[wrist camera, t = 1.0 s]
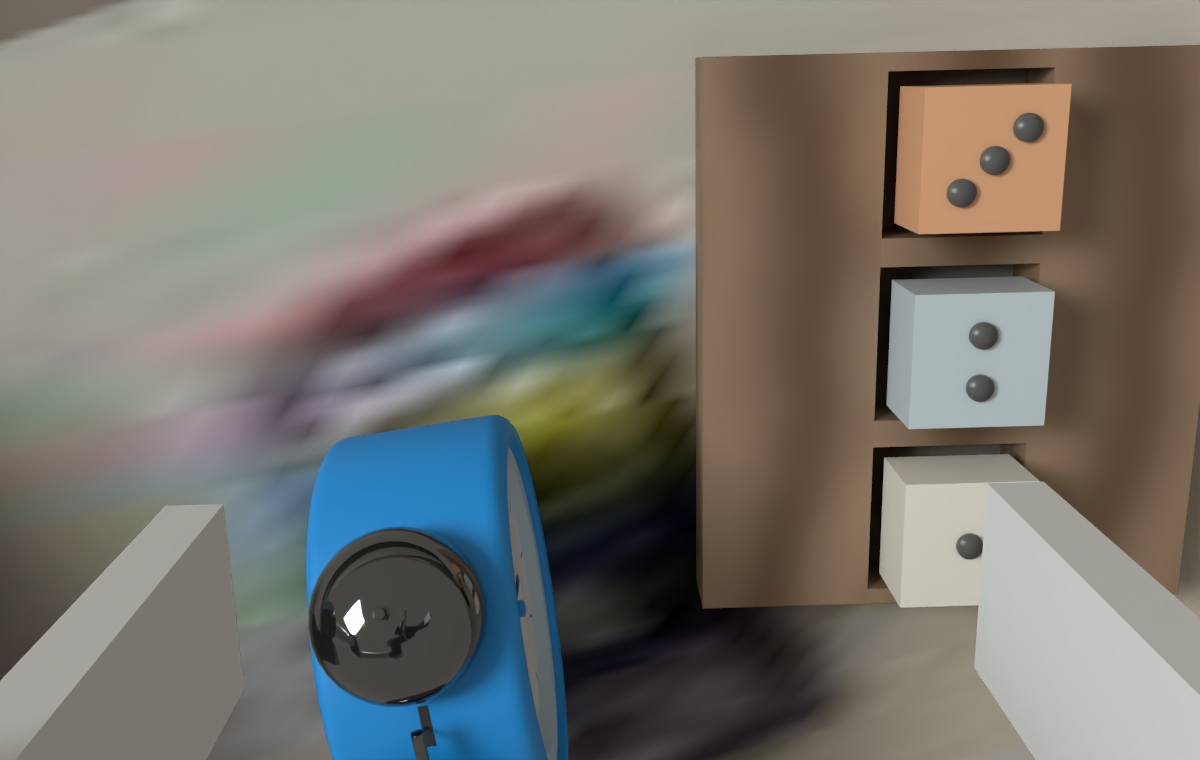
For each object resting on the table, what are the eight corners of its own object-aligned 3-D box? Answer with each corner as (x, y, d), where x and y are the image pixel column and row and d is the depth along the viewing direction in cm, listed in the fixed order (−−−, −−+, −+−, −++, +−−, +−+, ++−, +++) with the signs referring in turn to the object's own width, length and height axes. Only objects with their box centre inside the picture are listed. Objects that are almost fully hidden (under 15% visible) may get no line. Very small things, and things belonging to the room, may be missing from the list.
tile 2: (879, 573, 43) (901, 609, 40) (884, 457, 42) (907, 486, 39) (1000, 569, 43) (1032, 606, 40) (1009, 453, 42) (1042, 483, 39)
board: (696, 581, 46) (702, 608, 43) (695, 58, 40) (702, 57, 38) (1146, 567, 46) (1177, 594, 43) (1203, 45, 41) (1241, 44, 38)
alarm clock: (571, 676, 47) (569, 950, 32) (421, 699, 47) (352, 982, 32) (515, 368, 43) (484, 518, 29) (353, 394, 43) (241, 556, 29)
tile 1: (894, 222, 40) (920, 235, 37) (900, 86, 39) (927, 87, 36) (1025, 219, 40) (1062, 231, 37) (1036, 82, 39) (1074, 84, 36)
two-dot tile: (886, 405, 42) (910, 430, 39) (891, 279, 40) (916, 296, 37) (1012, 401, 42) (1046, 427, 39) (1021, 276, 40) (1057, 292, 37)
